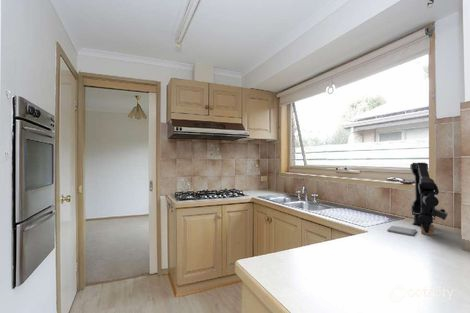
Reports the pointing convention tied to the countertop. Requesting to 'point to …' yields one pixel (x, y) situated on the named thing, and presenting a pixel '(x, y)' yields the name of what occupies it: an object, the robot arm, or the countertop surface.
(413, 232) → the slate coaster
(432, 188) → the robot arm
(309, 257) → the countertop surface
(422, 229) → the walnut block
